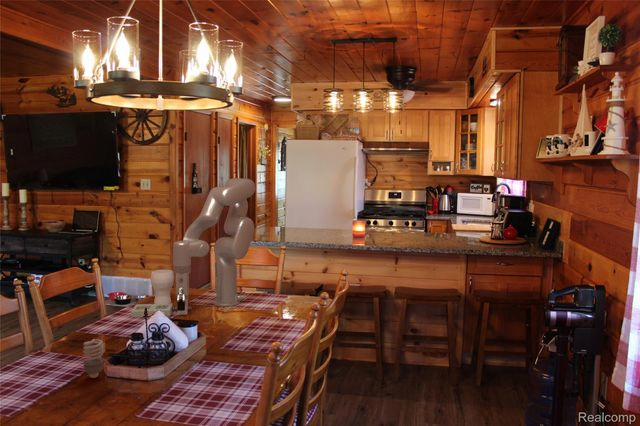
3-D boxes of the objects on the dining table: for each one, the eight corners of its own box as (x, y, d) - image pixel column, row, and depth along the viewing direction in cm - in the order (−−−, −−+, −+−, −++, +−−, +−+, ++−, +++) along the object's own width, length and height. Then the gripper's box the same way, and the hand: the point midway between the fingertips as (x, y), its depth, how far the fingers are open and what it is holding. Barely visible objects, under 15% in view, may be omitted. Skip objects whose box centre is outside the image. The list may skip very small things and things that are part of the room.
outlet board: (172, 308, 237) (172, 302, 236) (169, 316, 225) (169, 309, 225) (136, 309, 234) (136, 303, 234) (131, 317, 222) (131, 310, 222)
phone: (192, 308, 239) (192, 306, 239) (191, 311, 234) (191, 308, 234) (174, 309, 238) (174, 306, 237) (173, 312, 233) (173, 309, 233)
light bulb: (98, 373, 161) (97, 335, 160) (107, 378, 158) (106, 339, 157) (80, 378, 157) (79, 339, 156) (89, 383, 154) (88, 344, 153)
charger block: (187, 311, 232) (187, 296, 231) (186, 314, 228) (186, 298, 227) (178, 312, 231) (178, 296, 231) (177, 314, 227) (177, 298, 227)
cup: (149, 301, 250) (149, 270, 249) (172, 299, 254) (171, 268, 253) (152, 306, 240) (152, 274, 239) (175, 304, 245) (175, 272, 244)
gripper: (189, 273, 220) (189, 312, 221) (192, 265, 237) (192, 302, 238) (171, 273, 219) (171, 313, 220) (175, 265, 236) (175, 303, 237)
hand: (182, 307), depth 229 cm, fingers open, 9 cm apart
